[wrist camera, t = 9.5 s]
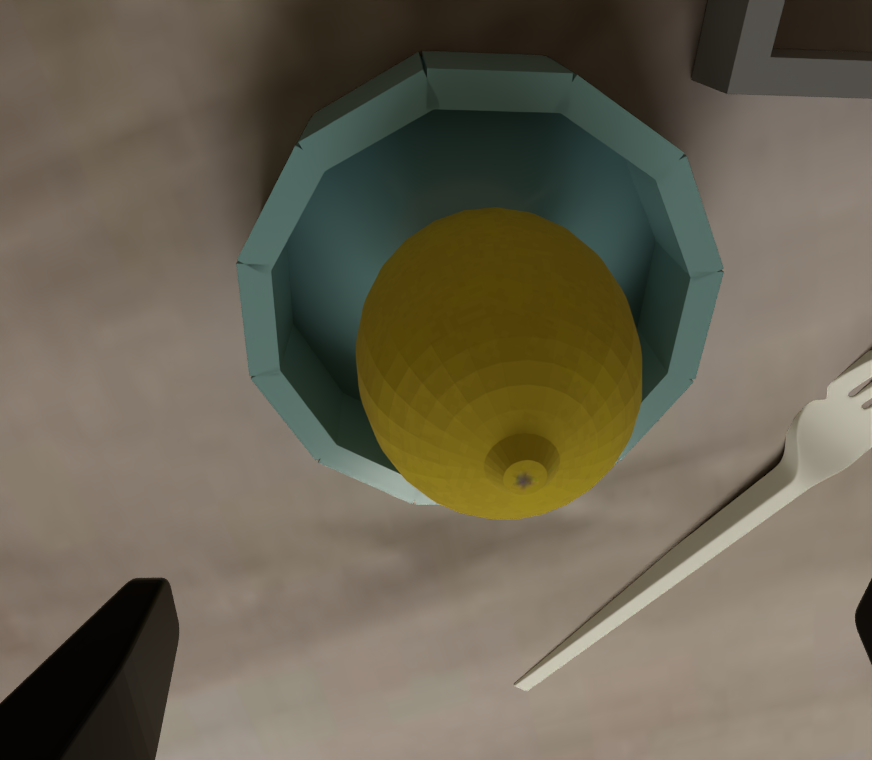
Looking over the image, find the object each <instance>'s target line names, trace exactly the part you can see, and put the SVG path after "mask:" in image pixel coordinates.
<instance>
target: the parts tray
mask: <svg viewBox="0 0 872 760" xmlns="http://www.w3.org/2000/svg"><path fill="white" fill-rule="evenodd" d="M784 2H785V0H708V2H707V7H706V12H705V17H704V21H703V26H702V31H701V36H700V40H699V45H698V50H697V55H696V60H695V64H694V69H693V74H692V79H691V80H693V81H696V82H698V83H701V84H703V85H706V86H708V87H711V88H713V89H716V90H719V91H721V92H724V93H726V94H747V95H777V96H808V97H838V98H868V99H872V52H849V51H822V50H795V49H772V48H773V45H774V41H775V37H776V33H777V29H778V25H779V21H780V18H781V14H782V10H783V6H784Z"/></svg>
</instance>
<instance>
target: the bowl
mask: <svg viewBox="0 0 872 760" xmlns="http://www.w3.org/2000/svg"><path fill="white" fill-rule="evenodd" d="M491 207H499V208H505V209H512V210H518V211H524V212H530V213H533V214H536V215H538V216H540V217H542V218H545V219H547V220H549V221H552V222H554V223H556V224H558V225H561V226H563V227H564V228H566V229H568V230H569V231H570V232H571V233H573V234H574V235H575V236H576V237H577V238H579V239H580V240H581V241H582V242H584V243H585V244H586V245H587V246H588V247H590V248H591V249H592V250H593V251H594V252H595V253H597V254H598V255H599V257H600V258H601V259H602V260H603V262H604V263H605V265H606V266H607V268H608V269H609V271H610V272H611V274H612V275H613V277H614V278H615V280H616V281H617V283H618V284H619V286H620V287H621V289H622V291H623V292H624V294H625V296H626V298H627V301H628V304H629V307H630V310H631V313H632V316H633V320H634V323H635V326H636V330H637V333H638V336H639V340H640V345H641V351H642V401H641V405H640V410H639V413H638V416H637V420H636V423H635V426H634V429H633V433H632V436H631V438H630V440H629V441H628V443H627V445H626V447H625V448H624V450H623V452H622V453H621V455H620V456H619V458H618V460H620V461H621V460H622V459H623V458H624V457H625V455H626V454H627V453H628V452H629V451H630V450H631V449H632V448H633V447H634V446H635V445H636V444H637V442H638V441H639V440H640V439H641V438H642V437H643V436H644V435H645V434H646V433H647V432H648V431H649V430H650V428H651V427H652V426H653V425H654V424H655V423H656V422H657V421H658V420H659V419H660V418H661V417H662V416H663V414H664V413H665V412H666V411H667V410H668V409H669V408H670V407H671V406H672V405H673V404H674V403H675V401H676V400H677V399H678V398H679V397H680V396H681V395H682V394H683V393H684V392H685V391H686V390H687V389H688V387H689V386H690V385H691V384H692V383H693V380H692V379H695V378H696V374H697V371H698V367H699V363H700V359H701V356H702V352H703V348H704V344H705V341H706V337H707V333H708V329H709V326H710V322H711V318H712V314H713V310H714V307H715V303H716V299H717V295H718V292H719V288H720V284H721V280H722V277H723V273H724V272H723V271H722V269H724V268H723V265H722V262H721V259H720V256H719V253H718V250H717V247H716V244H715V241H714V238H713V235H712V231H711V228H710V225H709V222H708V219H707V216H706V213H705V210H704V207H703V204H702V201H701V198H700V195H699V192H698V189H697V186H696V183H695V180H694V177H693V174H692V171H691V168H690V165H689V162H688V158H687V156H686V155H684V152H682V151H681V150H680V149H678V148H677V147H676V146H674V145H673V144H671V143H670V142H669V141H667V140H666V139H665V138H663V137H662V136H661V135H659V134H658V133H656V132H655V131H654V130H652V129H651V128H650V127H648V126H647V125H645V124H644V123H643V122H641V121H640V120H639V119H637V118H636V117H634V116H633V115H632V114H630V113H629V112H628V111H626V110H625V109H623V108H622V107H621V106H619V105H618V104H617V103H615V102H614V101H612V100H611V99H610V98H608V97H607V96H606V95H604V94H603V93H602V92H600V91H599V90H597V89H596V88H595V87H593V86H592V85H591V84H589V83H588V82H586V81H585V80H584V79H582V78H581V77H580V76H578V75H577V74H575V73H573V72H572V71H570V70H569V69H567V68H565V67H564V66H562V65H560V64H559V63H557V62H556V61H554V60H552V59H551V58H549V57H546V56H544V55H525V54H497V53H469V52H442V51H422V58H421V56H420V54H419V52H417V53H415V54H414V55H412V56H410V57H409V58H407V59H405V60H404V61H402V62H400V63H399V64H397V65H395V66H394V67H392V68H390V69H388V70H387V71H385V72H383V73H382V74H380V75H378V76H377V77H375V78H373V79H372V80H370V81H368V82H366V83H365V84H363V85H361V86H360V87H358V88H356V89H355V90H353V91H351V92H350V93H348V94H346V95H344V96H343V97H341V98H339V99H338V100H336V101H334V102H333V103H331V104H329V105H328V106H326V107H324V108H322V109H321V110H319V111H317V112H316V113H314V115H313V116H312V117H311V118H310V120H309V122H308V124H307V125H306V127H305V129H304V131H303V133H302V134H301V136H300V138H299V140H298V142H297V143H296V145H295V147H294V149H293V151H292V153H291V155H290V157H289V159H288V161H287V163H286V165H285V167H284V169H283V171H282V173H281V175H280V177H279V178H278V180H277V182H276V184H275V186H274V188H273V190H272V192H271V194H270V196H269V198H268V200H267V202H266V204H265V206H264V208H263V210H262V212H261V214H260V216H259V218H258V220H257V222H256V224H255V226H254V228H253V230H252V232H251V233H250V235H249V237H248V239H247V241H246V243H245V245H244V247H243V249H242V251H241V253H240V255H239V257H238V259H237V260H238V262H237V263H236V265H237V274H238V282H239V291H240V300H241V308H242V317H243V325H244V334H245V342H246V351H247V360H248V368H249V376H252V377H251V380H252V381H253V382H254V384H255V385H256V386H257V387H258V389H259V390H260V391H261V392H262V394H263V395H264V396H265V397H266V399H267V400H268V401H269V403H270V404H271V405H272V406H273V408H274V409H275V410H276V411H277V413H278V414H279V415H280V416H281V418H282V419H283V420H284V421H285V423H286V424H287V425H288V426H289V428H290V429H291V430H292V431H293V433H294V434H295V435H296V437H297V438H298V439H299V440H300V442H301V443H302V444H303V445H304V447H305V448H306V449H307V450H308V452H309V453H310V454H311V455H312V457H313V458H314V459H315V460H318V459H319V461H318V463H320V464H322V465H325V466H327V467H329V468H332V469H334V470H336V471H338V472H341V473H343V474H345V475H347V476H350V477H352V478H354V479H356V480H359V481H361V482H363V483H365V484H368V485H370V486H372V487H374V488H377V489H379V490H381V491H383V492H386V493H388V494H390V495H392V496H395V497H397V498H399V499H401V500H404V501H406V502H408V503H410V504H412V503H413V502H414V501H415V505H440V504H438V503H436V502H434V501H433V500H431V499H430V498H428V497H427V496H426V495H424V494H423V493H422V492H420V491H419V490H418V489H416V488H415V487H414V486H412V485H411V484H410V483H408V482H407V481H406V480H405V479H404V478H403V476H402V475H401V474H400V473H399V471H398V470H397V469H396V467H395V466H394V465H393V464H392V462H391V461H390V460H389V458H388V457H387V456H386V455H385V453H384V452H383V451H382V449H381V447H380V445H379V443H378V441H377V439H376V437H375V434H374V432H373V429H372V427H371V424H370V422H369V419H368V417H367V414H366V412H365V409H364V407H363V404H362V400H361V397H360V392H359V385H358V374H357V363H356V340H357V334H358V329H359V324H360V319H361V314H362V309H363V305H364V302H365V299H366V297H367V295H368V293H369V291H370V289H371V287H372V285H373V283H374V281H375V279H376V277H377V275H378V273H379V271H380V269H381V268H382V266H383V265H384V263H385V262H386V261H387V260H388V259H389V258H390V257H391V256H392V255H393V253H394V252H395V251H396V250H397V249H398V248H399V247H400V246H401V245H402V243H403V242H404V241H405V240H406V239H408V238H409V237H411V236H412V235H414V234H415V233H417V232H418V231H420V230H421V229H423V228H424V227H426V226H427V225H429V224H430V223H432V222H433V221H435V220H438V219H441V218H444V217H446V216H449V215H452V214H455V213H458V212H460V211H463V210H471V209H481V208H491ZM616 463H618V462H617V461H616ZM616 463H615V464H616Z"/></svg>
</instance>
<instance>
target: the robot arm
mask: <svg viewBox="0 0 872 760" xmlns="http://www.w3.org/2000/svg"><path fill="white" fill-rule="evenodd" d="M855 623H856V627H857V631H858V633H859V636H860V638H861V640H862V643H863V645H864V648H865V650H866V652H867V655H868V657H869V660H870V662H871V664H872V579H871V581H870V583H869V585H868V587H867V589H866V591H865V593H864V595H863V597H862V599H861V601H860V603H859V605H858V607H857V609H856V613H855ZM178 640H179V622H178V617H177V613H176V608H175V604H174V599H173V595H172V590H171V586H170V584H169V582H168V580H166V579H165V578H135V579H132V580H130V581H129V582H127V583H126V584H125V585H124V586H123V587H122V588H121V589H120V590H119V591H118V592H117V593H116V594H115V595H114V596H112V597H111V598H110V599H109V600H108V601H107V602H106V603H105V604H104V605H103V606H102V607H101V608H100V609H99V610H98V611H97V612H96V613H95V614H94V615H93V616H91V617H90V618H89V619H88V620H87V621H86V622H85V623H84V624H83V625H82V626H81V627H80V628H79V629H78V630H77V631H76V632H75V633H74V634H73V635H72V636H70V637H69V638H68V639H67V640H66V641H65V642H64V643H63V644H62V645H61V646H60V647H59V648H58V649H57V650H56V651H55V652H54V653H53V654H52V655H50V656H49V657H48V658H47V659H46V660H45V661H44V662H43V663H42V664H41V665H40V666H39V667H38V668H37V669H36V670H35V671H34V672H33V673H32V674H31V675H29V676H28V677H27V678H26V679H25V680H24V681H23V682H22V683H21V684H20V685H19V686H18V687H17V688H16V689H15V690H14V691H13V692H12V693H11V694H10V695H8V696H7V697H6V698H5V699H4V700H3V701H2V702H1V703H0V760H155V757H156V752H157V748H158V743H159V738H160V733H161V728H162V722H163V717H164V712H165V707H166V702H167V697H168V692H169V687H170V682H171V677H172V672H173V667H174V661H175V656H176V651H177V646H178Z"/></svg>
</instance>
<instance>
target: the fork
mask: <svg viewBox="0 0 872 760" xmlns="http://www.w3.org/2000/svg"><path fill="white" fill-rule="evenodd" d="M871 377H872V350H870V351H868V352H867V353H866V354H864V355H863V356H862V357H861V358H860V359H858V360H857V361H856V362H855V363H854V364H852V365H851V366H850V367H849V368H848V369H846V370H845V371H844V372H843V373H842V374H841V375H839V376H838V377H837V378H836V379H835V380H834V381H832V382H831V383H830V385H829V386H828V388H827V398H826V399H824V400H814V401H811V402H810V403H808V404H807V405H806V406H805V407H804V408H803V409H802V410H801V411H800V412H799V413H798V415H797V416H796V417H795V419H794V420H793V421H792V423H791V425H790V427H789V429H788V431H787V434H786V439H785V450H784V455H783V458H782V460H781V461H780V463H779V464H778V465H777V466H776V467H775V468H774V469H773V470H771V471H770V472H769V473H768V474H766V475H765V476H764V477H763V478H761V479H760V480H759V481H758V482H756V483H755V484H754V485H753V486H751V487H750V488H749V489H747V490H746V491H745V492H744V493H742V494H741V495H740V496H739V497H737V498H736V499H735V500H733V501H732V502H731V503H730V504H728V505H727V506H726V507H725V508H723V509H722V510H721V511H720V512H718V513H717V514H716V515H714V516H713V517H712V518H711V519H709V520H708V521H707V522H706V523H704V524H703V525H702V526H700V527H699V528H698V529H697V530H695V531H694V532H693V533H692V534H690V535H689V536H688V537H687V538H685V539H684V540H683V541H681V542H680V543H679V544H678V545H676V546H675V547H674V548H673V549H671V550H670V551H669V552H668V553H667V554H666V555H664V556H663V557H662V558H661V559H660V560H659V561H658V562H656V563H655V564H654V565H653V566H652V567H651V568H649V569H648V570H647V571H646V572H645V573H644V574H642V575H641V576H640V577H639V578H638V579H637V580H635V581H634V582H633V583H632V584H631V585H630V586H628V587H627V588H626V589H625V590H624V591H623V592H621V593H620V594H619V595H618V596H617V597H616V598H614V599H613V600H612V601H611V602H610V603H609V604H607V605H606V606H605V607H604V608H603V609H602V610H600V611H599V612H598V613H597V614H596V615H595V616H593V617H592V618H591V619H590V620H589V621H588V622H586V623H585V624H584V625H583V626H582V627H581V628H579V629H578V630H577V631H576V632H575V633H574V634H572V635H571V636H570V637H569V638H568V639H567V640H565V641H564V642H563V643H562V644H561V645H559V646H558V647H557V648H556V649H555V650H554V651H552V652H551V653H550V654H549V655H548V656H546V657H545V658H544V659H543V660H542V661H541V662H539V663H538V664H537V665H536V666H535V667H533V668H532V669H531V670H530V671H529V672H527V673H526V674H525V675H524V676H523V677H522V678H520V679H519V680H518V681H517V682H516V683H514V686H516V687H517V688H520V689H522V690H524V691H528V690H529V689H531V688H532V687H533V686H535V685H536V684H538V683H539V682H540V681H542V680H543V679H545V678H546V677H547V676H549V675H550V674H552V673H553V672H554V671H556V670H557V669H559V668H560V667H561V666H563V665H564V664H566V663H567V662H568V661H570V660H571V659H573V658H574V657H575V656H577V655H578V654H579V653H581V652H582V651H584V650H585V649H586V648H588V647H589V646H591V645H592V644H593V643H595V642H596V641H598V640H599V639H600V638H602V637H603V636H605V635H606V634H607V633H609V632H610V631H612V630H613V629H614V628H616V627H617V626H618V625H620V624H621V623H623V622H624V621H625V620H627V619H628V618H630V617H631V616H632V615H634V614H635V613H637V612H638V611H639V610H641V609H642V608H644V607H645V606H646V605H648V604H649V603H650V602H652V601H653V600H655V599H656V598H657V597H659V596H660V595H662V594H663V593H664V592H666V591H667V590H669V589H670V588H671V587H673V586H674V585H676V584H677V583H678V582H680V581H681V580H682V579H684V578H685V577H687V576H688V575H689V574H691V573H692V572H694V571H695V570H696V569H698V568H699V567H701V566H702V565H703V564H705V563H706V562H707V561H709V560H710V559H712V558H713V557H714V556H716V555H717V554H719V553H720V552H721V551H723V550H724V549H726V548H727V547H728V546H730V545H731V544H733V543H734V542H735V541H737V540H738V539H739V538H741V537H742V536H744V535H745V534H746V533H748V532H749V531H751V530H752V529H753V528H755V527H756V526H758V525H759V524H760V523H762V522H763V521H765V520H766V519H767V518H769V517H770V516H771V515H773V514H774V513H776V512H777V511H778V510H780V509H781V508H783V507H784V506H785V505H787V504H788V503H790V502H791V501H792V500H794V499H795V498H796V497H798V496H799V495H801V494H802V493H803V492H805V491H806V490H808V489H809V488H811V487H812V486H814V485H816V484H818V483H819V482H821V481H823V480H825V479H827V478H829V477H831V476H833V475H835V474H837V473H839V472H841V471H842V470H844V469H846V468H847V467H848V466H850V465H851V464H852V463H853V462H855V461H856V460H857V459H858V458H859V457H860V456H862V455H863V454H864V453H865V452H866V451H868V450H869V449H870V448H871V447H872V405H871V406H869V407H868V408H865V409H864V408H862V407H861V406H862V405H863V404H864V403H865V402H866V401H868V400H869V399H871V398H872V382H871V383H870V384H868V385H867V386H866V387H865V388H864V389H862V390H861V391H860V392H859V393H858V394H856V395H855V396H852V397H850V396H849V395H848V393H849V392H850V391H851V390H852V389H854V388H855V387H857V386H858V385H860V384H861V383H863V382H864V381H866V380H868V379H869V378H871Z"/></svg>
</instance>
